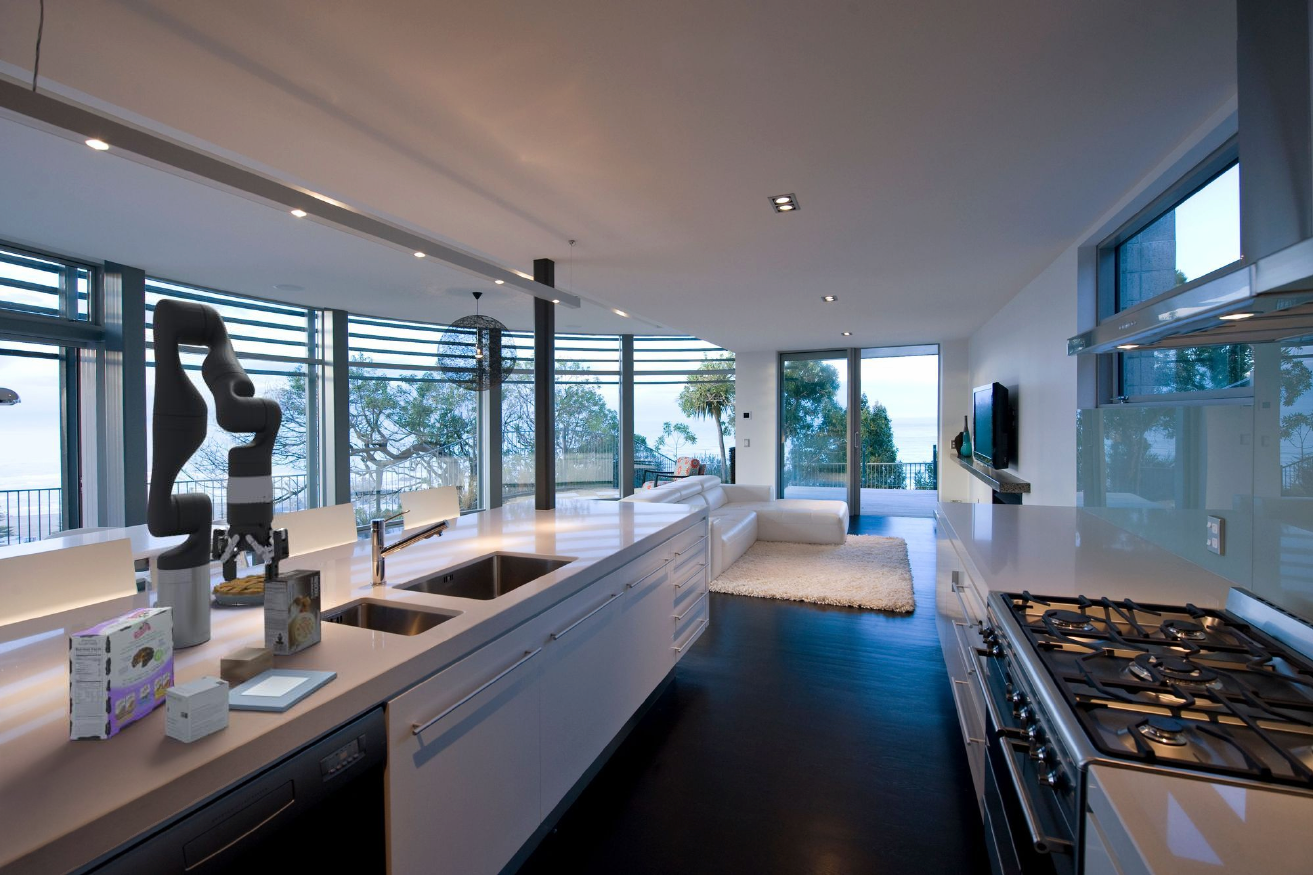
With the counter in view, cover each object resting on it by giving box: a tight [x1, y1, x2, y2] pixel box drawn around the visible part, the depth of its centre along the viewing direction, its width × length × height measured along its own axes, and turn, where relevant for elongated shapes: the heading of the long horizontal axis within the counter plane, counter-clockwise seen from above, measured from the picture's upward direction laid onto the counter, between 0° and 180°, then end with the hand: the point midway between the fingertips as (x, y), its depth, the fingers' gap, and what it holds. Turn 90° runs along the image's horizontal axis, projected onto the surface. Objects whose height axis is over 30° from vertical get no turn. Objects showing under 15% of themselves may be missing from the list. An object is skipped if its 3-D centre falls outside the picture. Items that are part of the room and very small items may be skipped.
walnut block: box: [219, 646, 274, 681], centre depth 113 cm, size 6×6×4 cm
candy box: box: [68, 607, 175, 741], centre depth 95 cm, size 14×6×16 cm, turn 5°
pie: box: [211, 572, 284, 606], centre depth 164 cm, size 22×22×5 cm
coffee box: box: [263, 568, 322, 656], centre depth 126 cm, size 9×6×16 cm
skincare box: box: [164, 674, 230, 744], centre depth 91 cm, size 6×6×7 cm
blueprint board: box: [229, 668, 338, 712], centre depth 105 cm, size 14×14×1 cm
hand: (250, 581), depth 113 cm, fingers open, 8 cm apart
